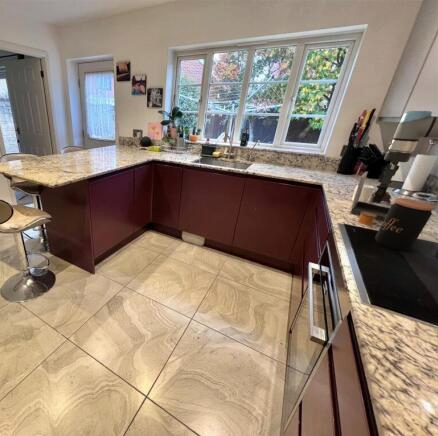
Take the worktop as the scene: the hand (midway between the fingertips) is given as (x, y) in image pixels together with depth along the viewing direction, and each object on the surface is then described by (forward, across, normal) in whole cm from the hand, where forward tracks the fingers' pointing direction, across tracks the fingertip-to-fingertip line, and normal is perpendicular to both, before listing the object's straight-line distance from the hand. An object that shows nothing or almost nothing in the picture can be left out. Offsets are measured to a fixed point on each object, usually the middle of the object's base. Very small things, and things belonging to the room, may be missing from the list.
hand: (377, 199), depth 105 cm
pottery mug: (+13, -49, +1) cm, 51 cm away
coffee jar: (+13, +17, +10) cm, 24 cm away
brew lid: (+1, -19, -8) cm, 20 cm away
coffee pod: (+13, 0, -1) cm, 13 cm away
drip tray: (+13, -19, 0) cm, 23 cm away
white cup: (+13, -40, -7) cm, 43 cm away
